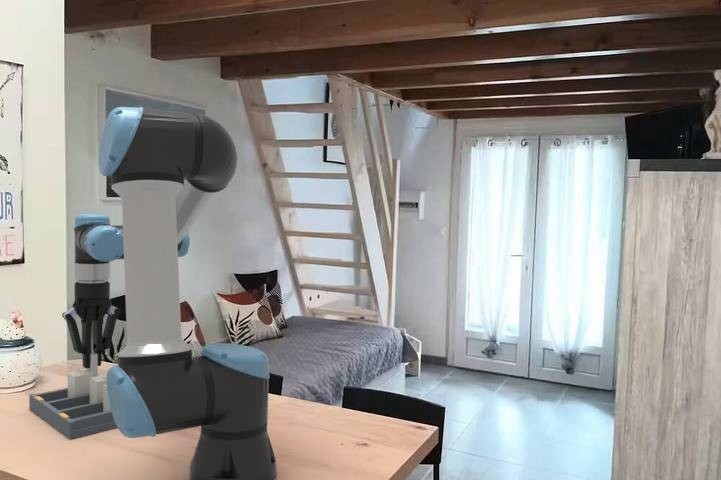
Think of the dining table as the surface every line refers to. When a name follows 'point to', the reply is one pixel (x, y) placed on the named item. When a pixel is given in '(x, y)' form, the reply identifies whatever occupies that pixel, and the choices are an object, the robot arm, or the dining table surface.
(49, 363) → the dining table surface
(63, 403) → the divided tray
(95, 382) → the white tall block
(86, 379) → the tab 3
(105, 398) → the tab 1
